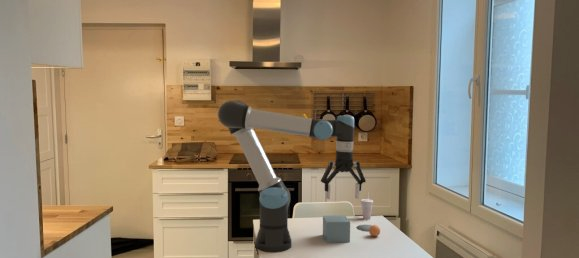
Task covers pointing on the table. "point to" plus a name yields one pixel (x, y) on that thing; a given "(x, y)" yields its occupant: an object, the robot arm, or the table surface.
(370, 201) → the smoothie
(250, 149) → the robot arm
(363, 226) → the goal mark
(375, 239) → the table surface
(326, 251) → the table surface
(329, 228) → the blue-grey block
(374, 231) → the brown egg
